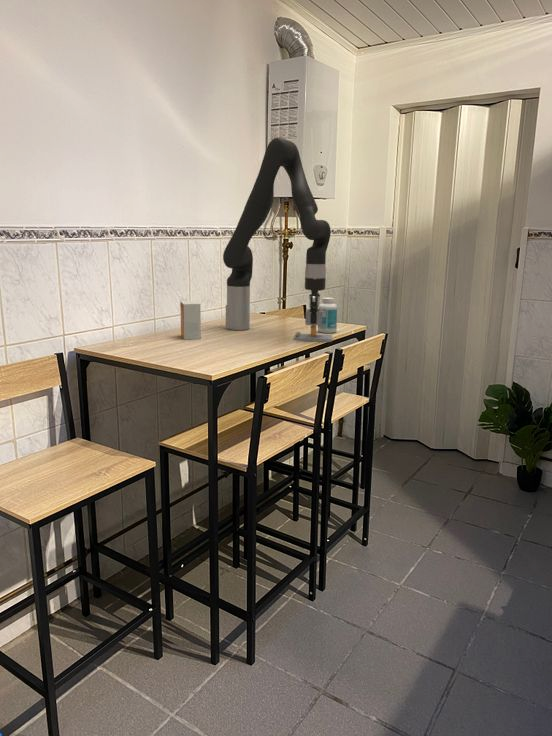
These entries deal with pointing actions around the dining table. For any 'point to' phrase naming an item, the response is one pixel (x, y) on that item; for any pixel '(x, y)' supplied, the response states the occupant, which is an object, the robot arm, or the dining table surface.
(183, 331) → the small box
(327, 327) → the pill bottle
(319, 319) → the grey block
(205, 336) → the dining table surface
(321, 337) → the keeper
